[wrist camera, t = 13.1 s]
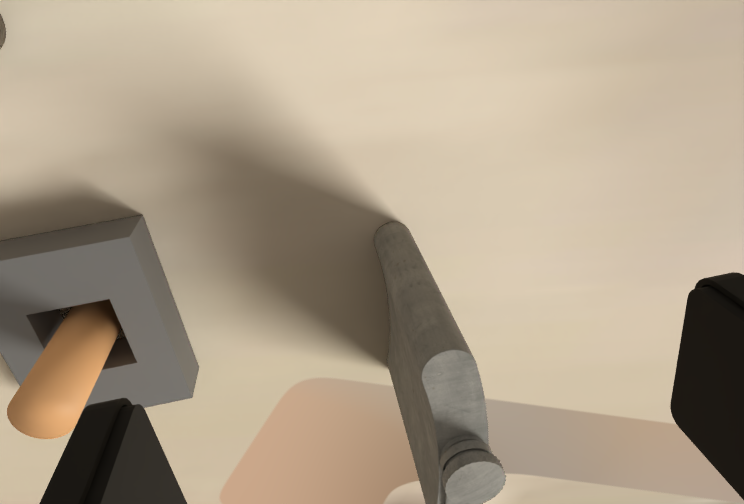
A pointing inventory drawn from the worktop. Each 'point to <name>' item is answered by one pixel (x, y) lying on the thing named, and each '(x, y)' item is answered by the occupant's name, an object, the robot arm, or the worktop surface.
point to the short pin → (2, 32)
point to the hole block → (91, 284)
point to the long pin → (65, 372)
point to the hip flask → (435, 380)
